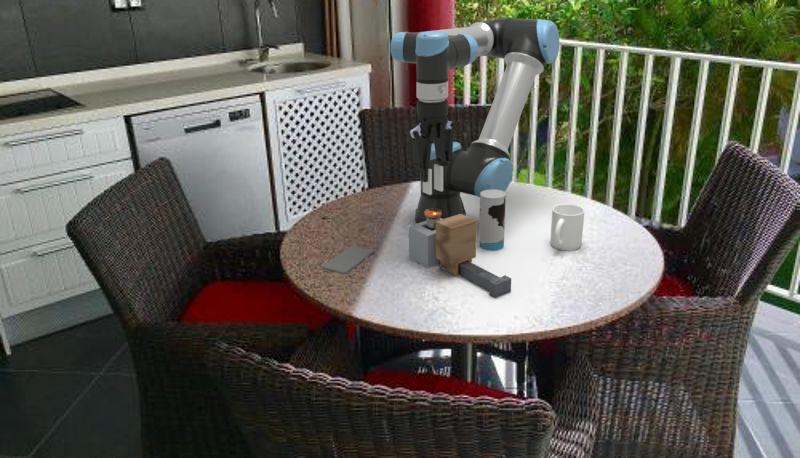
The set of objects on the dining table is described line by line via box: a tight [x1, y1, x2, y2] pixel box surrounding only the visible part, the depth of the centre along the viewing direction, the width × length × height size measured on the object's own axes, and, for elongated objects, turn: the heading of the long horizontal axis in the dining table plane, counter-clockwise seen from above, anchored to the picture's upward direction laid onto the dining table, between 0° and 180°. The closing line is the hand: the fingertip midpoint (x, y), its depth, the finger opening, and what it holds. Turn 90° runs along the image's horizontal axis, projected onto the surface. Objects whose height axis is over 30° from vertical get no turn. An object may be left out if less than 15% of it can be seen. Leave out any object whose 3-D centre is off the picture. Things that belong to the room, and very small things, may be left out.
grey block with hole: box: [407, 218, 442, 269], centre depth 177 cm, size 8×10×9 cm
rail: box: [438, 260, 512, 299], centre depth 167 cm, size 22×5×4 cm, turn 36°
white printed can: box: [478, 189, 507, 252], centre depth 182 cm, size 7×7×15 cm
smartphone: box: [321, 244, 376, 275], centre depth 179 cm, size 8×1×15 cm
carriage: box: [436, 214, 478, 276], centre depth 170 cm, size 6×8×13 cm
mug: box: [550, 203, 585, 251], centre depth 181 cm, size 12×8×10 cm
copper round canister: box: [425, 208, 442, 231], centre depth 175 cm, size 4×4×7 cm
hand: (433, 191), depth 172 cm, fingers open, 3 cm apart
